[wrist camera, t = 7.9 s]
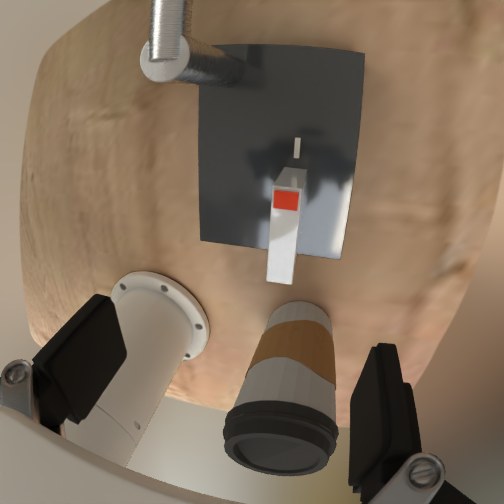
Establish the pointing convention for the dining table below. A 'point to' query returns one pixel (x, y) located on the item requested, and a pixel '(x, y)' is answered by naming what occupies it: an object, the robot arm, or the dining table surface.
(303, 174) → the tap handle
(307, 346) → the coffee cup
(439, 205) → the dining table surface
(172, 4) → the spout
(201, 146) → the base
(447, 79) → the dining table surface
